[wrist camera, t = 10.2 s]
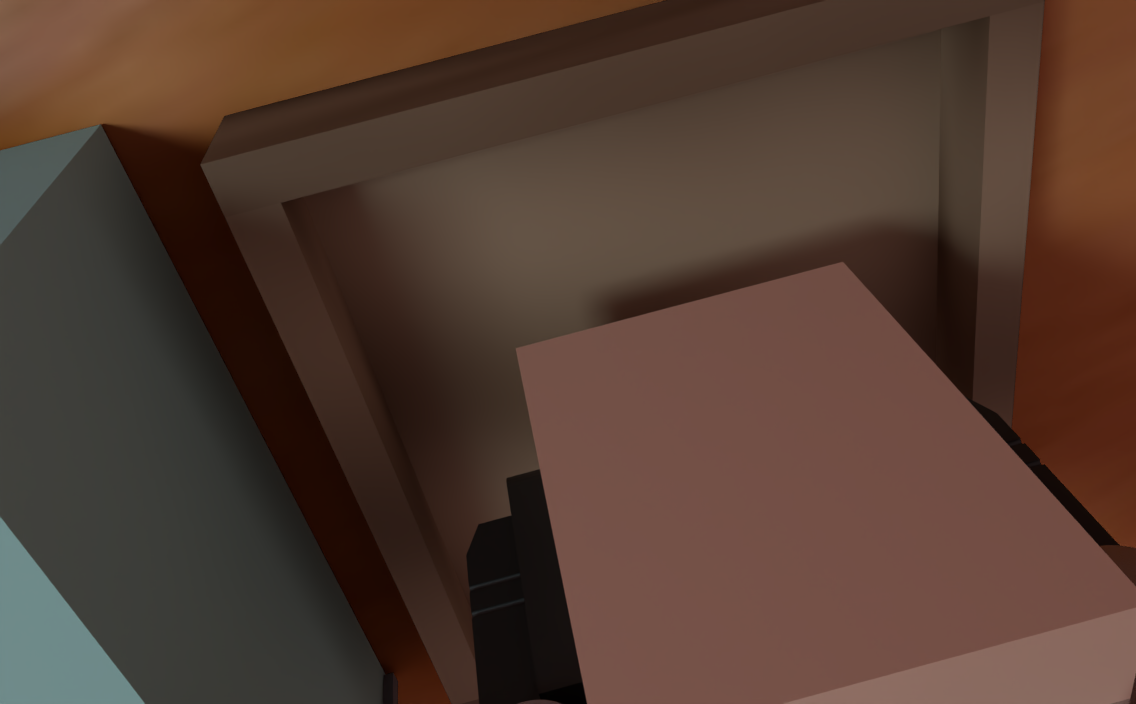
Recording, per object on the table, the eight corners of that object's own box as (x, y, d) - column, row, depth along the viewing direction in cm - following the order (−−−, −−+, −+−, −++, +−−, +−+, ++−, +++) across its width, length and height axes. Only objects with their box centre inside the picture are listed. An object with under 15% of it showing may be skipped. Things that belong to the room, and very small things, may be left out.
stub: (515, 348, 12) (597, 754, 7) (843, 261, 12) (1150, 603, 7) (588, 598, 15) (684, 1017, 10) (855, 526, 15) (1085, 907, 10)
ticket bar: (-233, 211, 12) (-710, 545, 7) (115, 120, 12) (-96, 383, 7) (174, 738, 19) (87, 1110, 14) (397, 677, 19) (397, 1024, 14)
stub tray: (224, 116, 12) (200, 163, 11) (970, -80, 12) (1049, -59, 11) (457, 651, 19) (463, 728, 17) (951, 516, 19) (999, 582, 17)
